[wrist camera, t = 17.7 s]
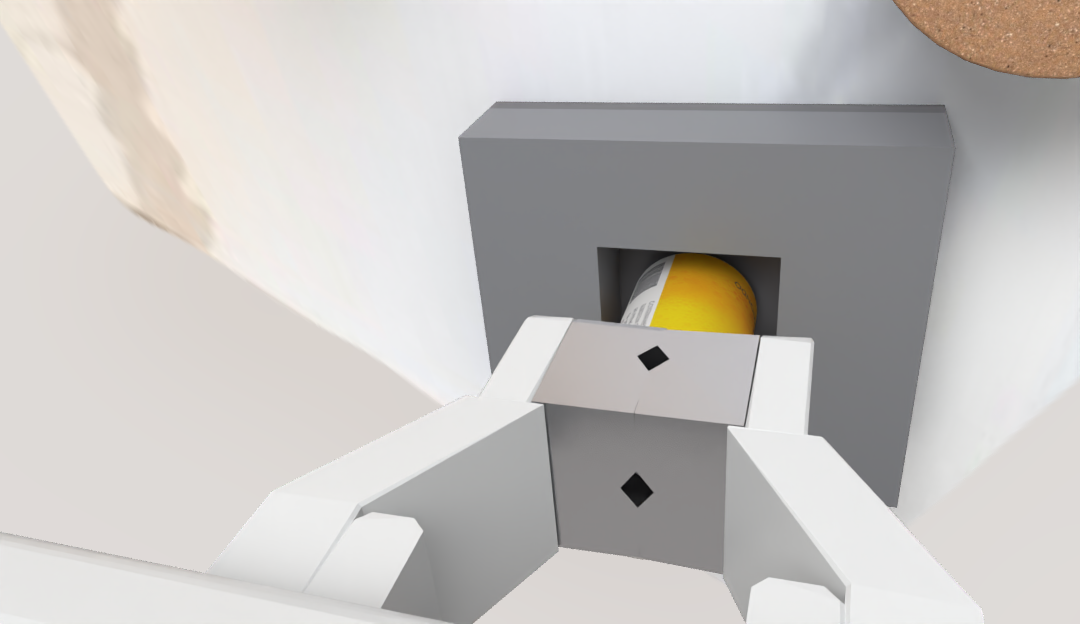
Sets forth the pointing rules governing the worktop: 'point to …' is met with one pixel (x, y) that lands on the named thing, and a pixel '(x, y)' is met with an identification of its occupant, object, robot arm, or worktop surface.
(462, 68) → the worktop surface
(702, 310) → the beer can
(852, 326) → the can dock
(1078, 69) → the lidded bowl
